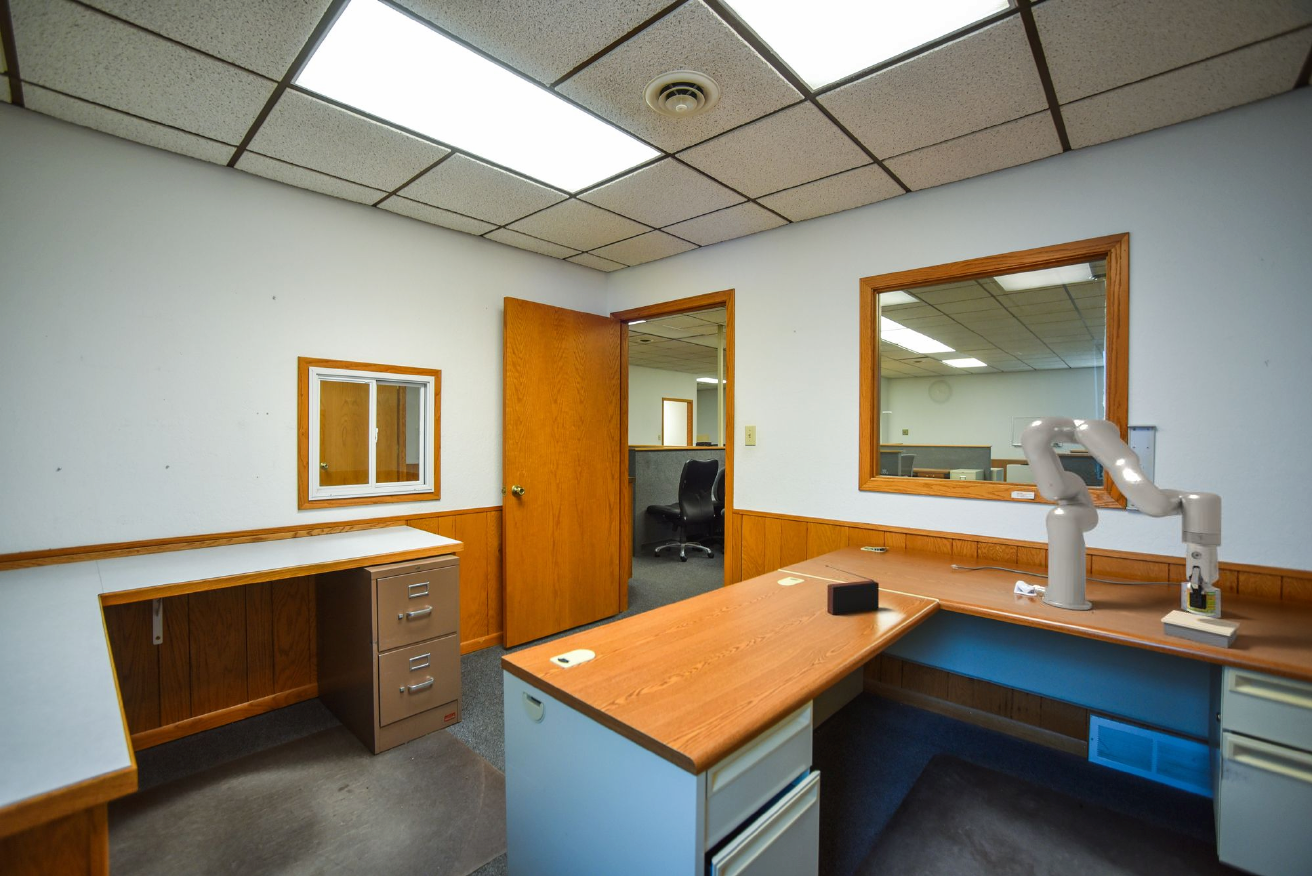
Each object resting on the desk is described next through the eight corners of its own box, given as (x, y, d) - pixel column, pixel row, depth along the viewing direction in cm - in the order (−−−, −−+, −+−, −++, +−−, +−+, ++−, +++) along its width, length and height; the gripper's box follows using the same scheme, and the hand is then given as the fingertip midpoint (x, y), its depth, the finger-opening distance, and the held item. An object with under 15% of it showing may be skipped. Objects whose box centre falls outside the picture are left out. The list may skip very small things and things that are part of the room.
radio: (871, 606, 171) (872, 559, 171) (878, 610, 168) (878, 561, 168) (820, 612, 165) (821, 563, 165) (826, 616, 162) (827, 566, 162)
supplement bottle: (1210, 617, 143) (1210, 580, 143) (1183, 611, 148) (1183, 575, 147) (1218, 614, 145) (1219, 577, 145) (1191, 608, 150) (1192, 573, 150)
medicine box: (1221, 618, 160) (1221, 589, 160) (1205, 618, 161) (1206, 589, 160) (1195, 609, 168) (1195, 581, 168) (1180, 609, 168) (1181, 581, 168)
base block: (1160, 633, 148) (1161, 619, 148) (1173, 624, 156) (1173, 610, 156) (1229, 649, 138) (1230, 633, 138) (1239, 638, 145) (1239, 623, 145)
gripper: (1213, 544, 138) (1213, 616, 138) (1227, 537, 148) (1227, 603, 148) (1173, 540, 144) (1173, 608, 145) (1189, 533, 154) (1189, 596, 155)
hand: (1200, 605), depth 146 cm, fingers closed on supplement bottle, 5 cm apart
